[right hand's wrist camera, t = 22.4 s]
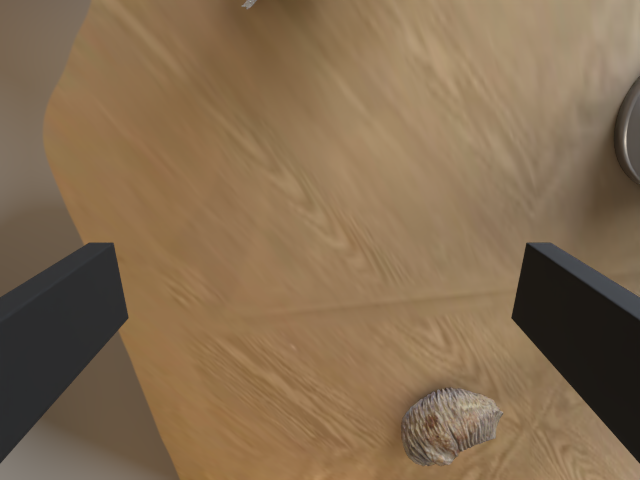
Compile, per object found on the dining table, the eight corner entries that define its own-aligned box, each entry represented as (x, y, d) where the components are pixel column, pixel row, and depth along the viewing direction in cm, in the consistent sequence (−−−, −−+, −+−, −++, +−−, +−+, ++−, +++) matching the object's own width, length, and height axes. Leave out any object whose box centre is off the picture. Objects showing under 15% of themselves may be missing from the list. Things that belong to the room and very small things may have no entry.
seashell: (475, 362, 54) (499, 384, 44) (502, 431, 53) (533, 469, 43) (385, 391, 56) (389, 419, 46) (410, 460, 54) (420, 503, 45)
